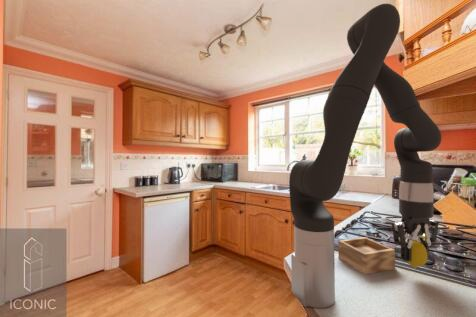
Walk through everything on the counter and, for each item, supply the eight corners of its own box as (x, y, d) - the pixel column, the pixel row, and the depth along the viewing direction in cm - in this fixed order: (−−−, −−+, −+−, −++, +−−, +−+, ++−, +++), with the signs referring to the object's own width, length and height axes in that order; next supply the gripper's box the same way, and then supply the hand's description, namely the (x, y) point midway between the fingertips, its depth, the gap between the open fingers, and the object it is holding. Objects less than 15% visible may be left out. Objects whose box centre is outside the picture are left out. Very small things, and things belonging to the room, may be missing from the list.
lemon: (432, 273, 60) (432, 243, 60) (408, 271, 61) (408, 242, 61) (420, 264, 66) (420, 236, 65) (398, 262, 67) (398, 235, 67)
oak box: (365, 275, 65) (365, 254, 65) (338, 258, 76) (338, 240, 76) (395, 269, 68) (394, 249, 68) (365, 254, 79) (365, 236, 79)
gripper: (408, 202, 58) (407, 268, 58) (450, 199, 61) (449, 262, 61) (382, 197, 65) (382, 256, 65) (421, 195, 68) (421, 251, 69)
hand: (415, 258), depth 63 cm, fingers closed on lemon, 5 cm apart
